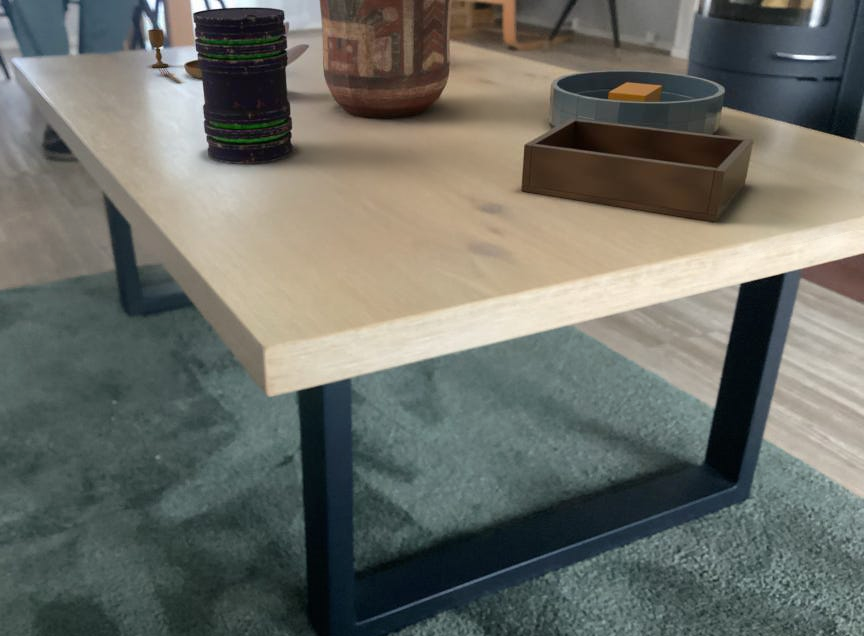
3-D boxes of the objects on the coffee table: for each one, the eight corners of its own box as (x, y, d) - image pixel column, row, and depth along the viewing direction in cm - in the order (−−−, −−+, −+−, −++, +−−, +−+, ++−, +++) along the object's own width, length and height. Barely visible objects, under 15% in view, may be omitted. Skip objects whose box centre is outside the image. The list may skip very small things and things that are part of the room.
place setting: (178, 85, 134) (173, 45, 131) (146, 66, 150) (141, 30, 147) (283, 75, 141) (281, 36, 138) (242, 57, 157) (240, 22, 154)
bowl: (733, 119, 111) (741, 78, 108) (693, 156, 96) (701, 110, 93) (581, 102, 120) (585, 65, 118) (522, 134, 105) (525, 92, 103)
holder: (744, 185, 86) (753, 139, 84) (715, 222, 76) (724, 171, 74) (567, 160, 94) (571, 118, 92) (520, 191, 85) (524, 144, 83)
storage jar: (193, 149, 100) (177, 11, 93) (269, 137, 105) (259, 5, 98) (229, 169, 93) (214, 21, 86) (309, 155, 98) (302, 13, 90)
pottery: (433, 127, 108) (435, -30, 100) (303, 119, 113) (295, -32, 105) (464, 99, 123) (469, -40, 115) (348, 92, 128) (345, -41, 119)
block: (657, 118, 109) (662, 85, 107) (641, 129, 104) (645, 95, 102) (622, 114, 111) (626, 82, 109) (605, 125, 106) (608, 92, 104)
